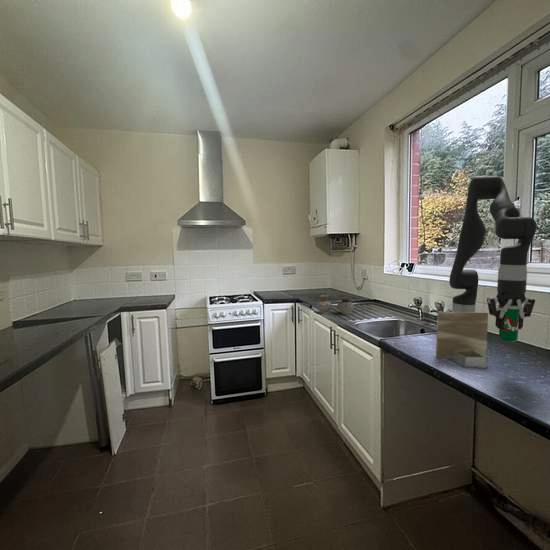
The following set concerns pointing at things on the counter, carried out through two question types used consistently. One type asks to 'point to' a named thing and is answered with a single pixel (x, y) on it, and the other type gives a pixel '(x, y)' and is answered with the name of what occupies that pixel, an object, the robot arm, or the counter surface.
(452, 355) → the can holder
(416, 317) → the counter surface
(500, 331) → the soda can
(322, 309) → the pottery
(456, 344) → the wall board
